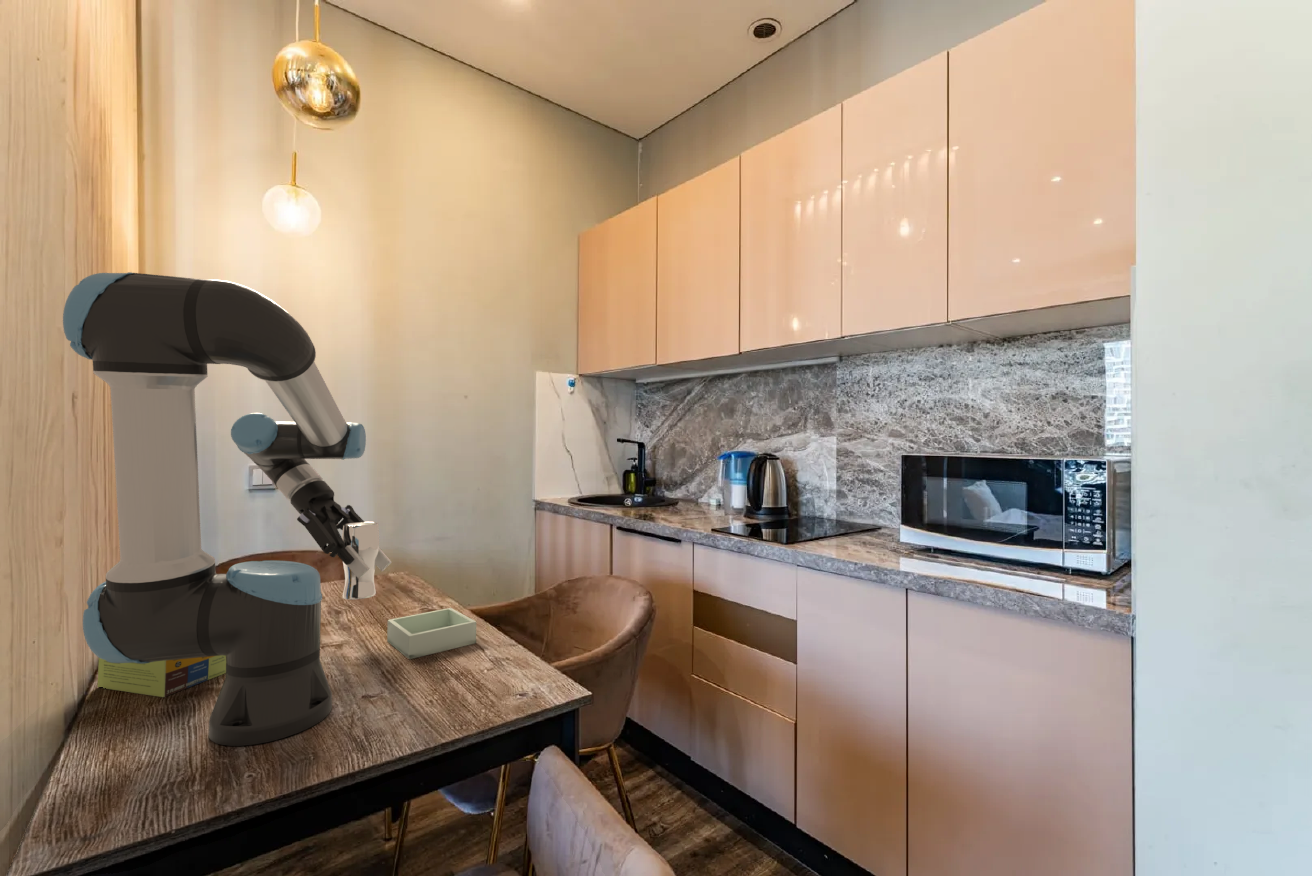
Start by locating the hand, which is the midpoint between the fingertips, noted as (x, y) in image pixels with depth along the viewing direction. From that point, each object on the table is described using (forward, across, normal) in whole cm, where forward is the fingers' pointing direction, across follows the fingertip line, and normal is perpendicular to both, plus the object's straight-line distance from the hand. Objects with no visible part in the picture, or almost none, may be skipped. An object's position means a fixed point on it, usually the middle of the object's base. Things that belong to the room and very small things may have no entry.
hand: (375, 569), depth 113 cm
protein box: (-7, +20, -30) cm, 37 cm away
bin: (+18, -4, -4) cm, 19 cm away
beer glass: (+1, 0, -6) cm, 7 cm away
